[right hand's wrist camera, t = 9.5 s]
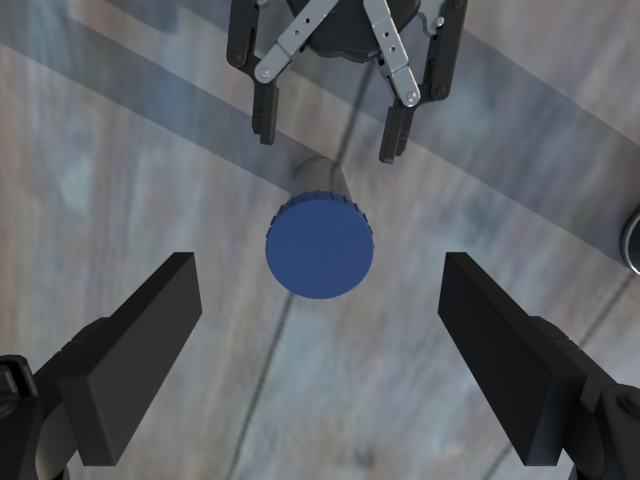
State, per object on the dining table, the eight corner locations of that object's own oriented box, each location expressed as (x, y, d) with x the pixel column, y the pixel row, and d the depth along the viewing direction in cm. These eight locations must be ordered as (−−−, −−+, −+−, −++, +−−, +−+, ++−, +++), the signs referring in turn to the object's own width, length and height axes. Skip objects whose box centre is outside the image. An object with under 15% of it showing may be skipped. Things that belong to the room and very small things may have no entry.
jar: (297, 154, 31) (277, 199, 16) (347, 159, 31) (372, 209, 16) (293, 202, 33) (271, 284, 18) (340, 207, 33) (358, 292, 18)
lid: (272, 183, 17) (267, 191, 16) (378, 194, 18) (384, 204, 16) (266, 278, 19) (261, 295, 18) (362, 287, 19) (366, 304, 18)
